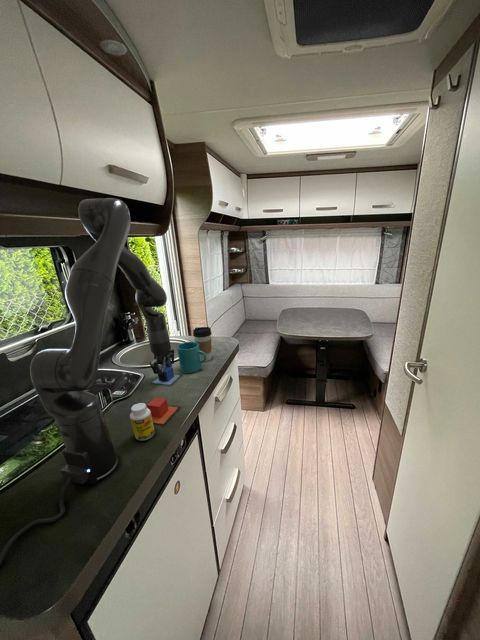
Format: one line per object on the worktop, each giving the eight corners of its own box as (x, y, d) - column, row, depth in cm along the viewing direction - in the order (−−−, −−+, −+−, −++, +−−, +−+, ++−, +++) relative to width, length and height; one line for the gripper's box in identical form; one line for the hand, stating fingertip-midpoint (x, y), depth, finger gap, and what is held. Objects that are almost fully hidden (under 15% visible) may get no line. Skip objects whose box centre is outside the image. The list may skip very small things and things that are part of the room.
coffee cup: (212, 362, 128) (209, 331, 123) (194, 362, 129) (190, 332, 123) (215, 354, 136) (212, 325, 130) (198, 355, 136) (194, 326, 130)
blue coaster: (170, 385, 110) (169, 384, 110) (152, 383, 112) (152, 382, 112) (180, 375, 117) (180, 374, 117) (163, 374, 119) (163, 373, 119)
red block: (161, 418, 90) (158, 406, 88) (149, 416, 91) (146, 405, 89) (168, 410, 94) (166, 399, 92) (157, 408, 95) (155, 397, 93)
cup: (205, 373, 118) (202, 349, 114) (177, 373, 119) (173, 349, 115) (210, 364, 126) (207, 341, 122) (184, 364, 127) (181, 341, 123)
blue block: (168, 381, 112) (166, 371, 110) (158, 380, 113) (156, 370, 111) (174, 376, 116) (172, 367, 114) (164, 375, 117) (163, 366, 115)
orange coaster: (163, 424, 87) (163, 423, 87) (138, 420, 90) (138, 419, 89) (178, 408, 95) (177, 407, 95) (155, 405, 97) (155, 404, 97)
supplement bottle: (137, 444, 80) (129, 414, 75) (133, 433, 84) (126, 405, 80) (157, 436, 82) (150, 407, 78) (152, 426, 87) (146, 399, 83)
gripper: (161, 332, 115) (168, 369, 122) (139, 345, 102) (147, 385, 109) (177, 333, 113) (183, 370, 120) (156, 347, 100) (164, 387, 107)
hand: (166, 377), depth 114 cm, fingers closed on blue block, 4 cm apart
